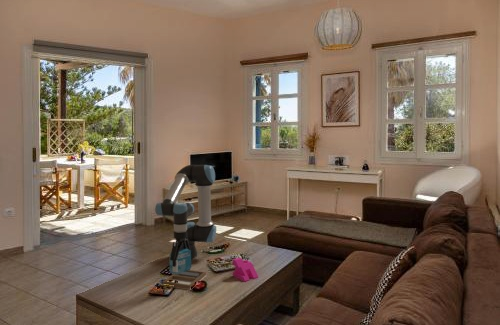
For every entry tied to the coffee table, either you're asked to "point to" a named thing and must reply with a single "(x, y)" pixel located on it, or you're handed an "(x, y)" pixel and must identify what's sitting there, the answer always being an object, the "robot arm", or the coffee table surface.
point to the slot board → (185, 280)
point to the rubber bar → (189, 274)
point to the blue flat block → (182, 261)
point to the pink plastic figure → (244, 270)
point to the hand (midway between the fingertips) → (180, 267)
